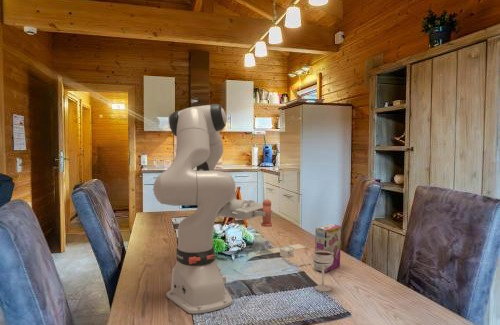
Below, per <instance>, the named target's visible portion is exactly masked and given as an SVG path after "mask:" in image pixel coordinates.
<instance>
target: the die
mask: <svg viewBox="0 0 500 325" xmlns="http://www.w3.org/2000/svg"><path fill="white" fill-rule="evenodd" d="M279 256H280V257H281V258H282V257H283V258H286V259H289V258H291V257H294V250H293V249H291V248H288V247H285V248H281V249H280V252H279Z"/></svg>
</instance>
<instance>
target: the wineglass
mask: <svg viewBox="0 0 500 325" xmlns="http://www.w3.org/2000/svg"><path fill="white" fill-rule="evenodd" d="M333 254H334V253H333V252H332V251H329V250H315V249H314V250H313V257H312V260H313V262H314V265H315V264H316V265H317V266H318V267H320V268H321V269H322V272H321V276H322V277H321V278H322V279H321V280H322V281H321V282H322V284H318V285H316V286H315V290H317V291H319V292H329V291H330V290H331V287H330V286H328V285H325V284H324V282H325V281H324V280H325V273H324V270H325V269H326V268H329V267H330V266H331V265H332V264H333V262H334V257H333Z"/></svg>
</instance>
